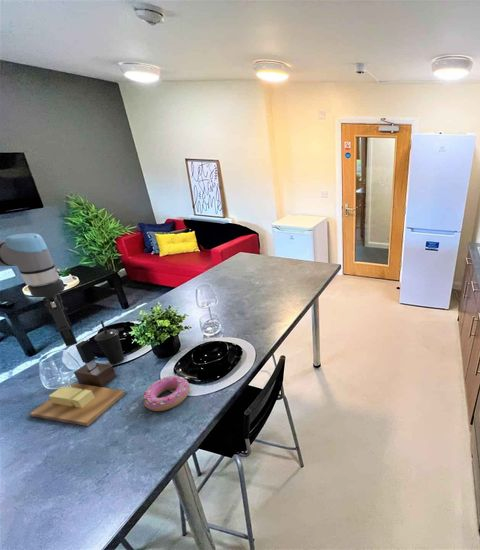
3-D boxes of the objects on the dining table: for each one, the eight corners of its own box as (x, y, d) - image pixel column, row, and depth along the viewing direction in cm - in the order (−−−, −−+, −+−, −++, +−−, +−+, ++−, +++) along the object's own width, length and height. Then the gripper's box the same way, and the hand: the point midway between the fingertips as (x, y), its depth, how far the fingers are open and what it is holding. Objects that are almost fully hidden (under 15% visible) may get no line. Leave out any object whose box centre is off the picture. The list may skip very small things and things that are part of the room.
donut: (170, 379, 116) (167, 370, 114) (199, 388, 112) (196, 378, 110) (135, 407, 103) (130, 397, 101) (166, 418, 100) (163, 408, 98)
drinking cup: (128, 352, 129) (114, 314, 121) (127, 362, 124) (113, 323, 115) (106, 358, 125) (90, 319, 117) (104, 369, 120) (87, 329, 111)
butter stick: (52, 403, 102) (48, 395, 100) (66, 393, 106) (62, 385, 104) (72, 406, 101) (68, 399, 99) (85, 396, 105) (82, 389, 104)
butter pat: (75, 407, 101) (71, 399, 99) (88, 396, 105) (85, 389, 103) (81, 408, 101) (78, 400, 99) (94, 397, 105) (91, 390, 103)
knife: (92, 382, 113) (74, 345, 105) (99, 377, 116) (83, 340, 108) (97, 383, 113) (80, 346, 105) (104, 377, 115) (88, 341, 108)
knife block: (79, 384, 112) (73, 372, 109) (94, 373, 117) (89, 361, 115) (102, 387, 111) (96, 375, 108) (116, 376, 116) (111, 364, 114)
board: (31, 416, 98) (29, 413, 98) (74, 385, 111) (72, 382, 111) (87, 426, 96) (86, 422, 95) (125, 393, 109) (124, 390, 108)
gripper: (64, 291, 88) (89, 347, 96) (56, 267, 102) (78, 317, 111) (28, 299, 82) (58, 358, 91) (25, 273, 97) (51, 325, 106)
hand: (69, 336), depth 101 cm, fingers open, 13 cm apart
